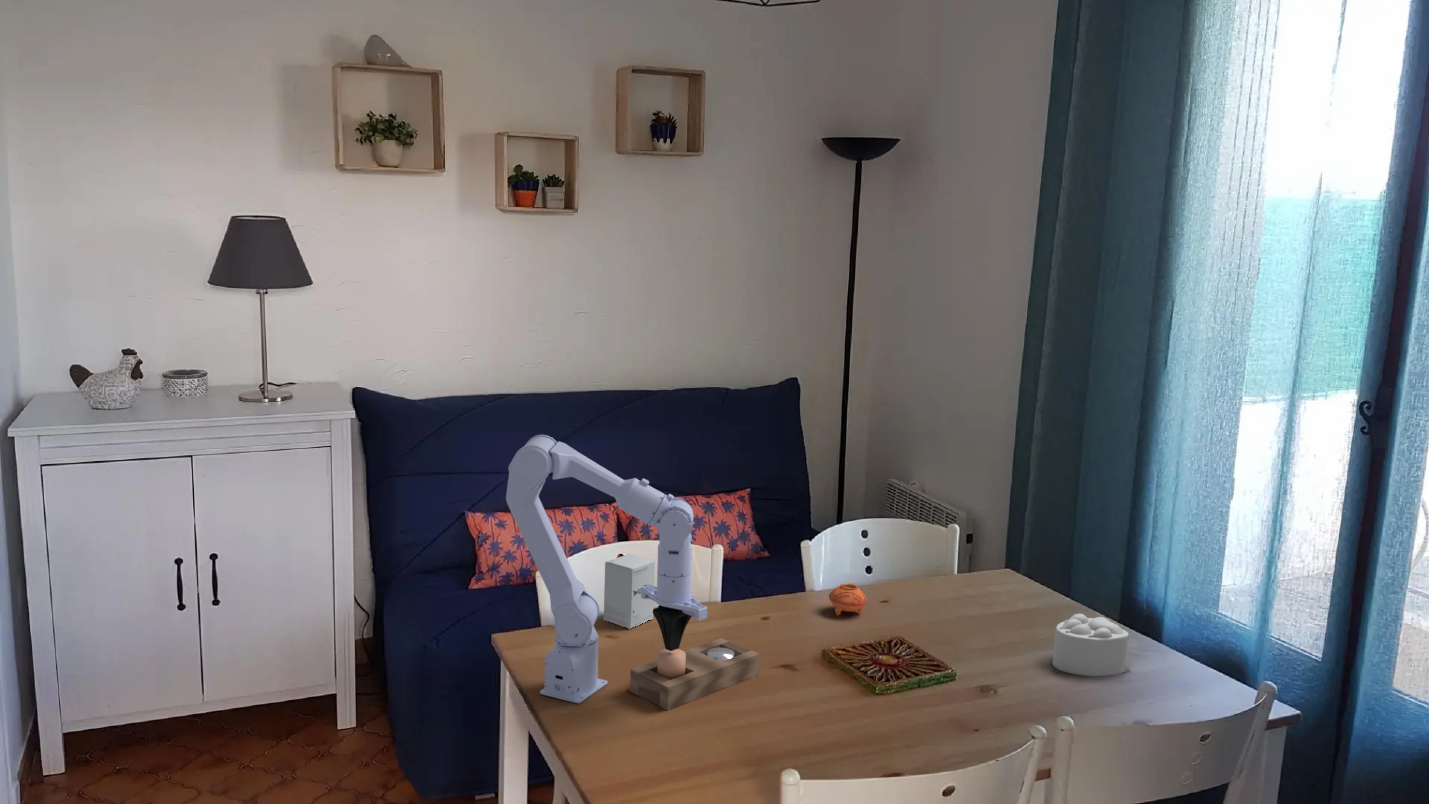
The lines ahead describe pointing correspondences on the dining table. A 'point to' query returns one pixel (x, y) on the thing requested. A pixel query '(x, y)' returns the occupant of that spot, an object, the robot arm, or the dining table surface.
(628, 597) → the supplement box
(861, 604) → the pot
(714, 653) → the far peg
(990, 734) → the dining table surface
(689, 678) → the wooden peg holder
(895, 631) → the dining table surface
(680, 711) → the dining table surface
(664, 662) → the near peg
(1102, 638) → the lumpy-topped squat cylinder
